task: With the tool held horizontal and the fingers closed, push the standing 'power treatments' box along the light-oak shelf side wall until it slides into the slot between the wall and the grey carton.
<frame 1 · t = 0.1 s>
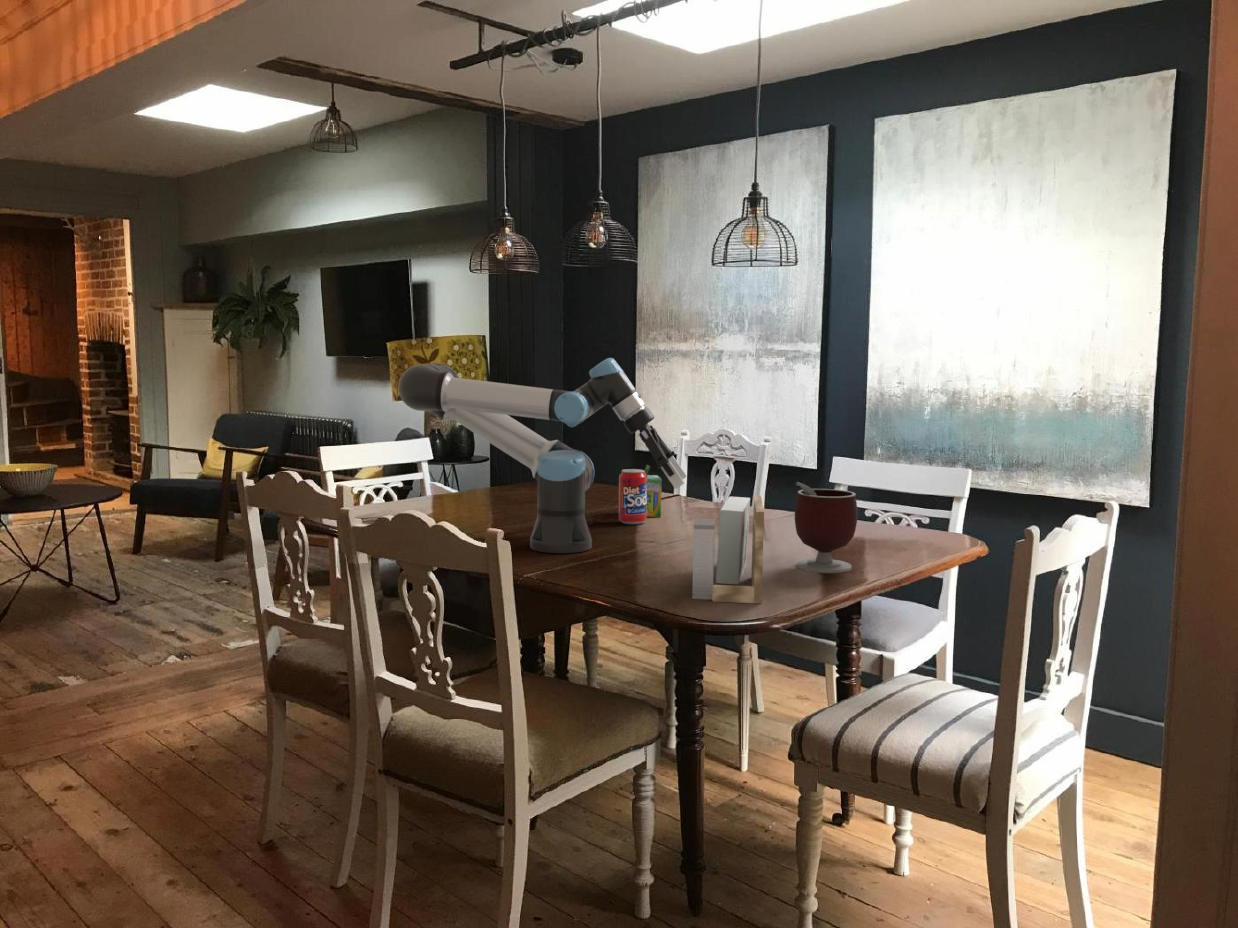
hand: (681, 482, 254), 15 cm above the table, tool tilted 35°, fingers open, 13 cm apart
soda can: (632, 523, 282), on the table
juice box: (643, 515, 295), on the table
grey carton: (703, 594, 201), on the table
mate gourd: (821, 568, 227), on the table
oak shelf corner: (732, 588, 206), on the table
skincare box: (732, 575, 219), on the table
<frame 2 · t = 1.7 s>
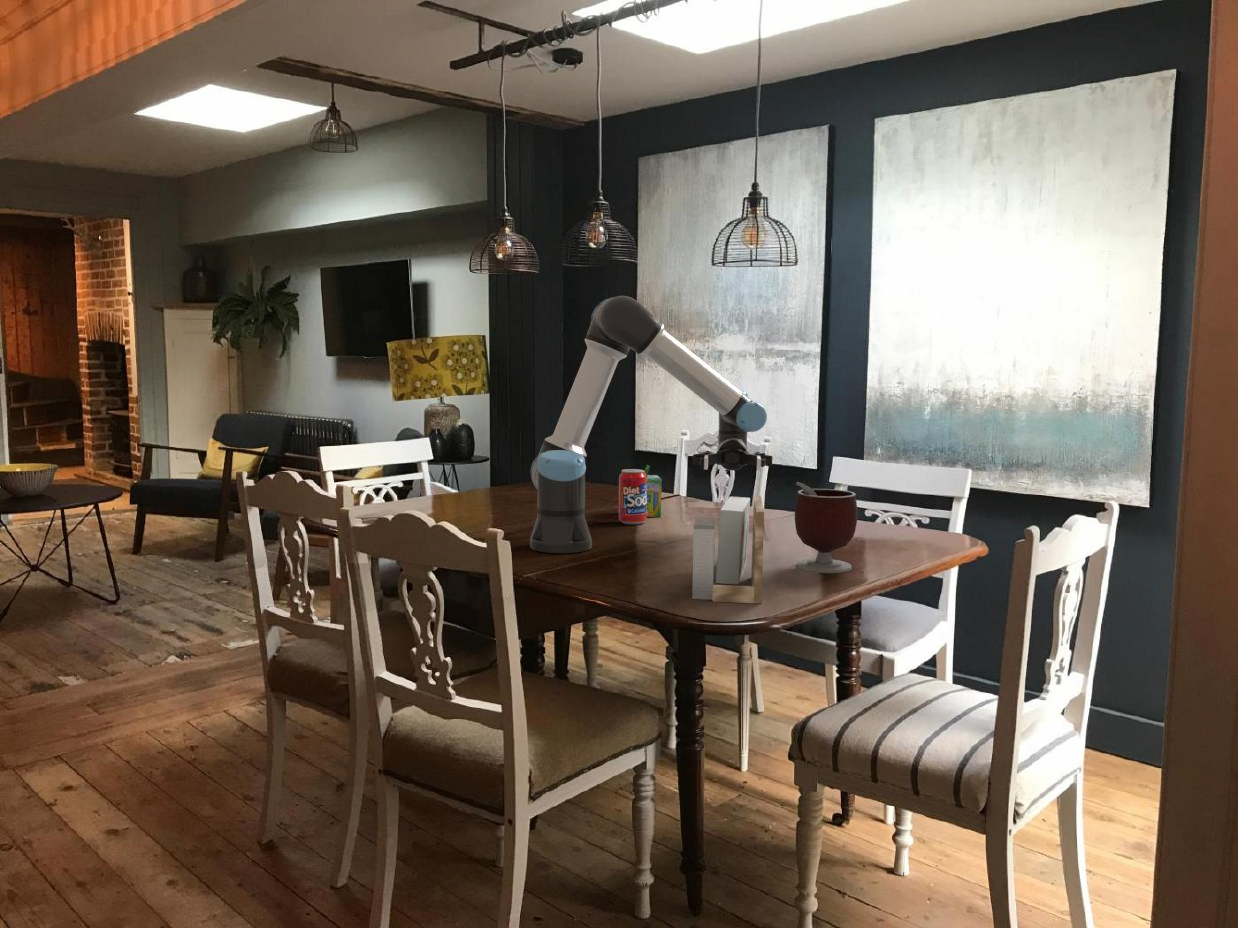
hand: (732, 464, 233), 22 cm above the table, tool horizontal, fingers open, 12 cm apart
nothing on the table moved.
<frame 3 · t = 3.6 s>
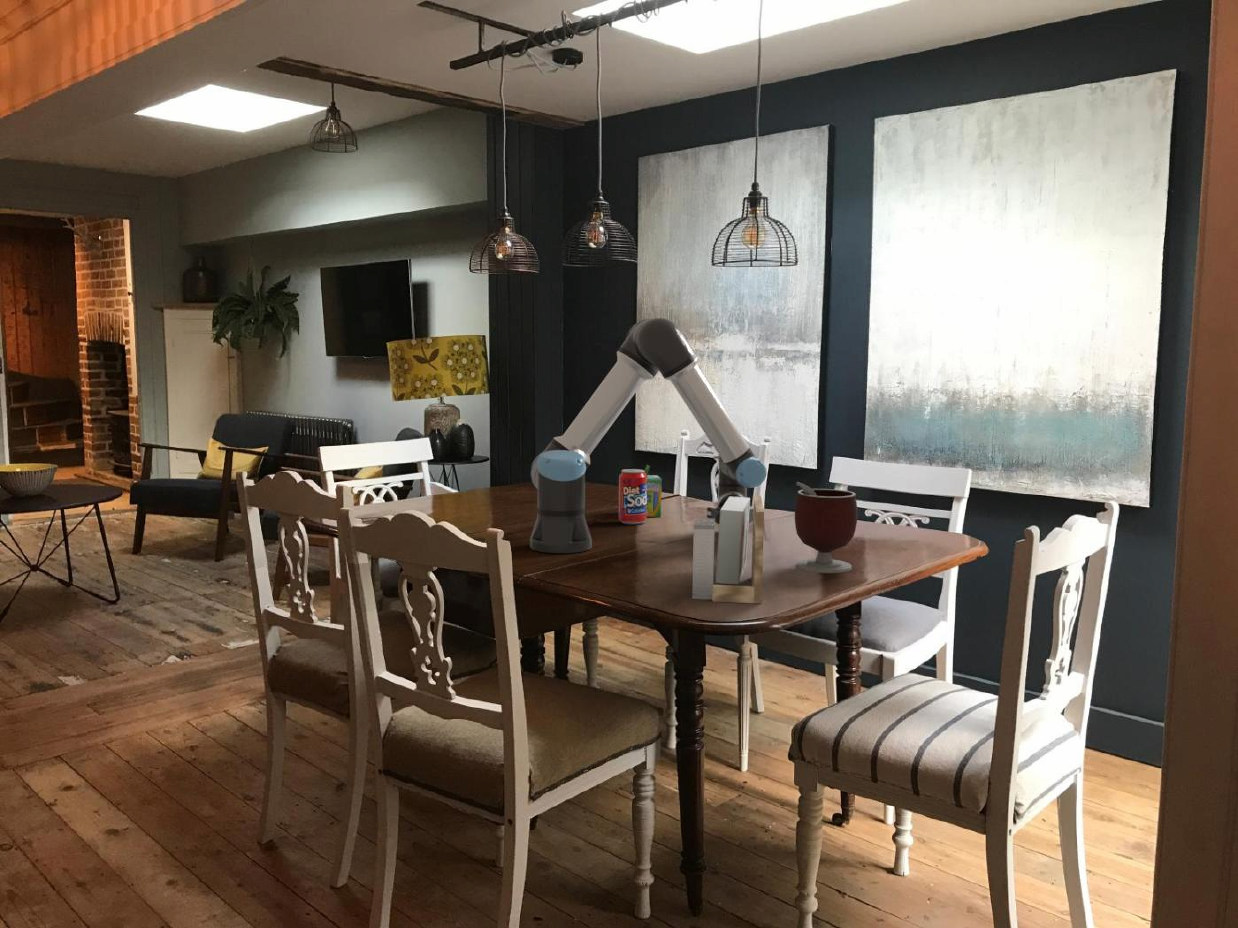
hand: (732, 524, 233), 8 cm above the table, tool horizontal, fingers closed
nothing on the table moved.
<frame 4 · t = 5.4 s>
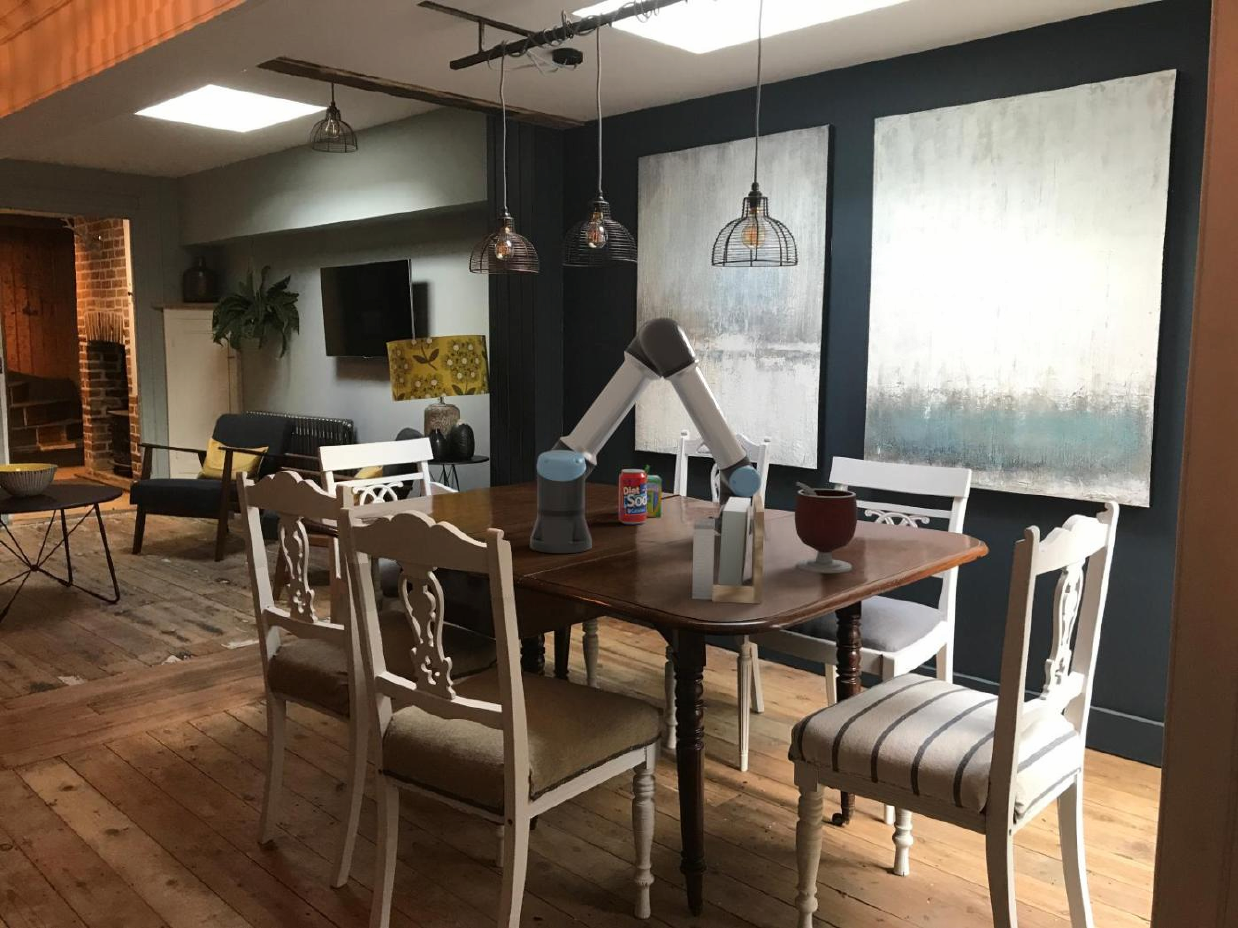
hand: (735, 535, 228), 7 cm above the table, tool horizontal, fingers closed
skincare box: (734, 576, 218), on the table, touching gripper
everything else where it was.
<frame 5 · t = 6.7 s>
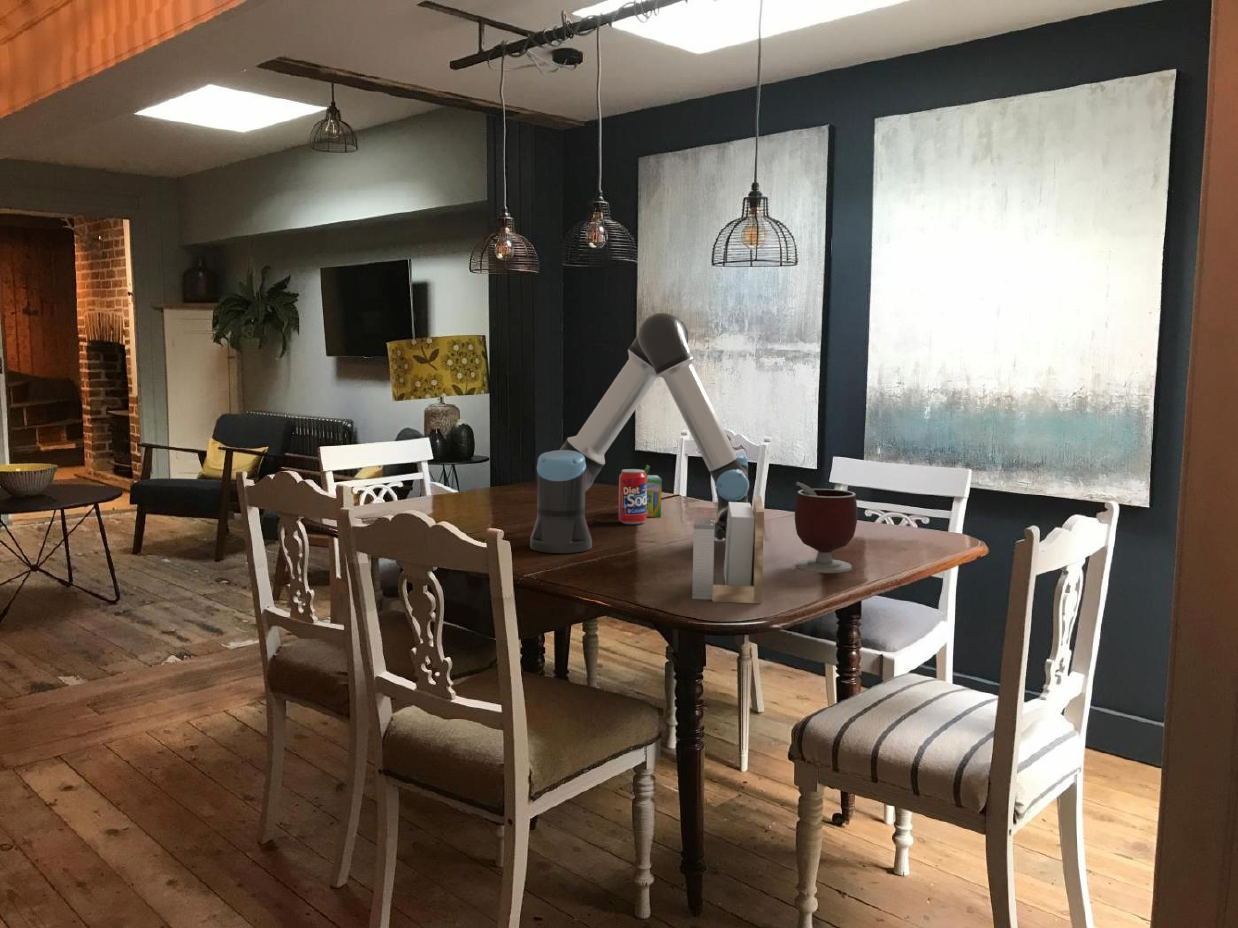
hand: (734, 540, 221), 7 cm above the table, tool horizontal, fingers closed
skincare box: (737, 583, 211), on the table, touching gripper
everything else where it was.
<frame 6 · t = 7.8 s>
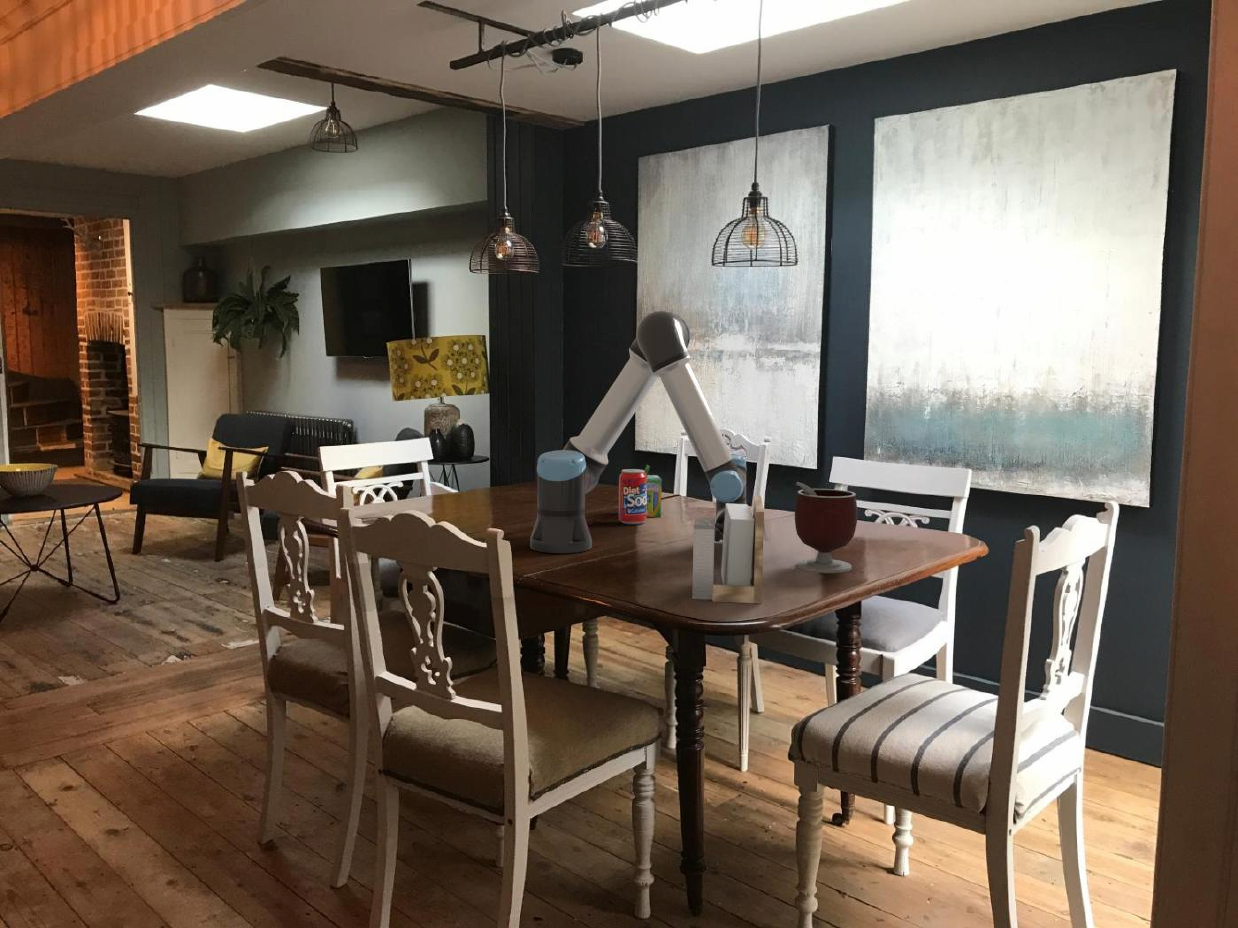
hand: (731, 542, 218), 7 cm above the table, tool horizontal, fingers closed
skincare box: (736, 586, 208), on the table, touching gripper
everything else where it was.
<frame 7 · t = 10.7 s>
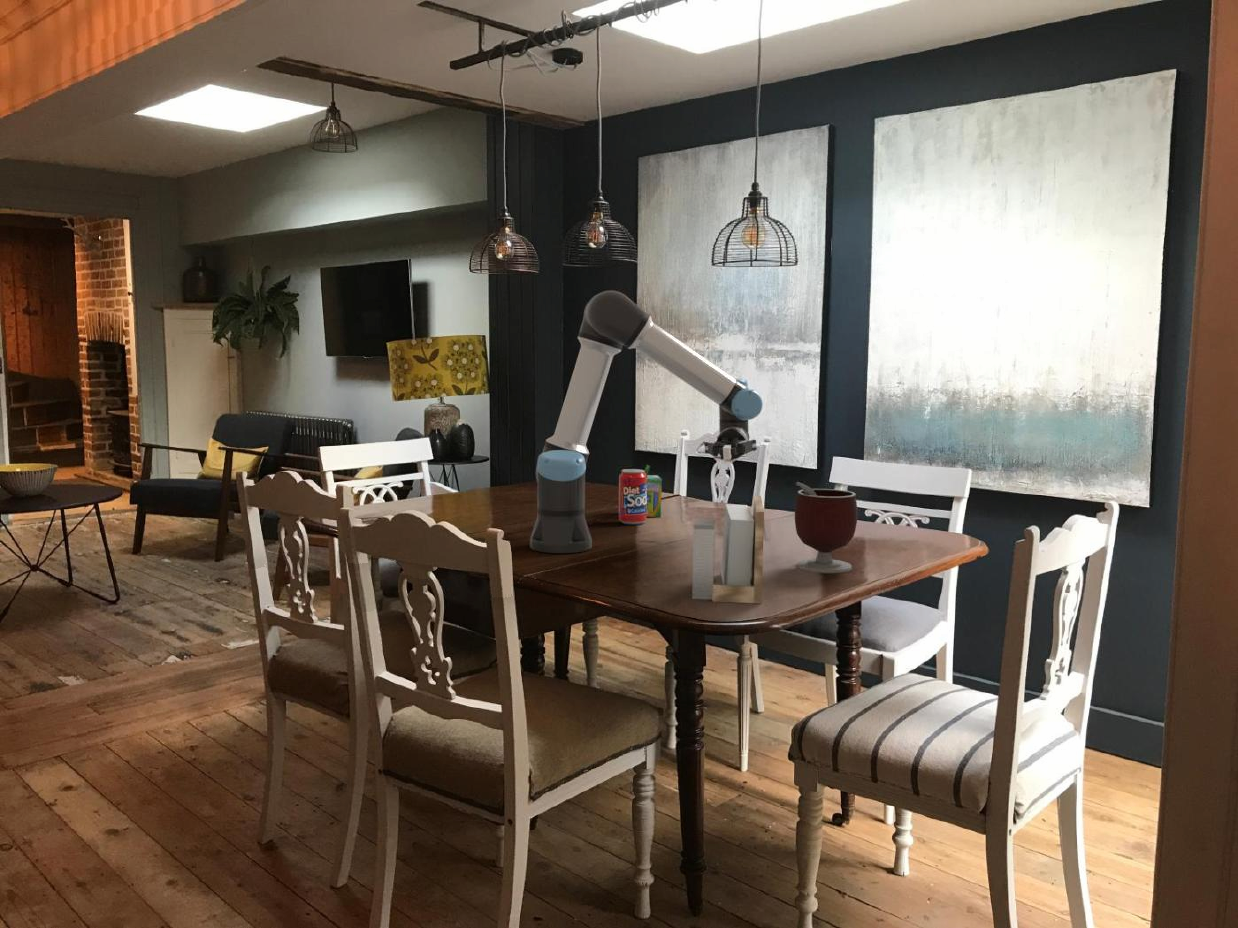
hand: (726, 453, 228), 25 cm above the table, tool horizontal, fingers closed
skincare box: (735, 587, 208), on the table
everything else where it was.
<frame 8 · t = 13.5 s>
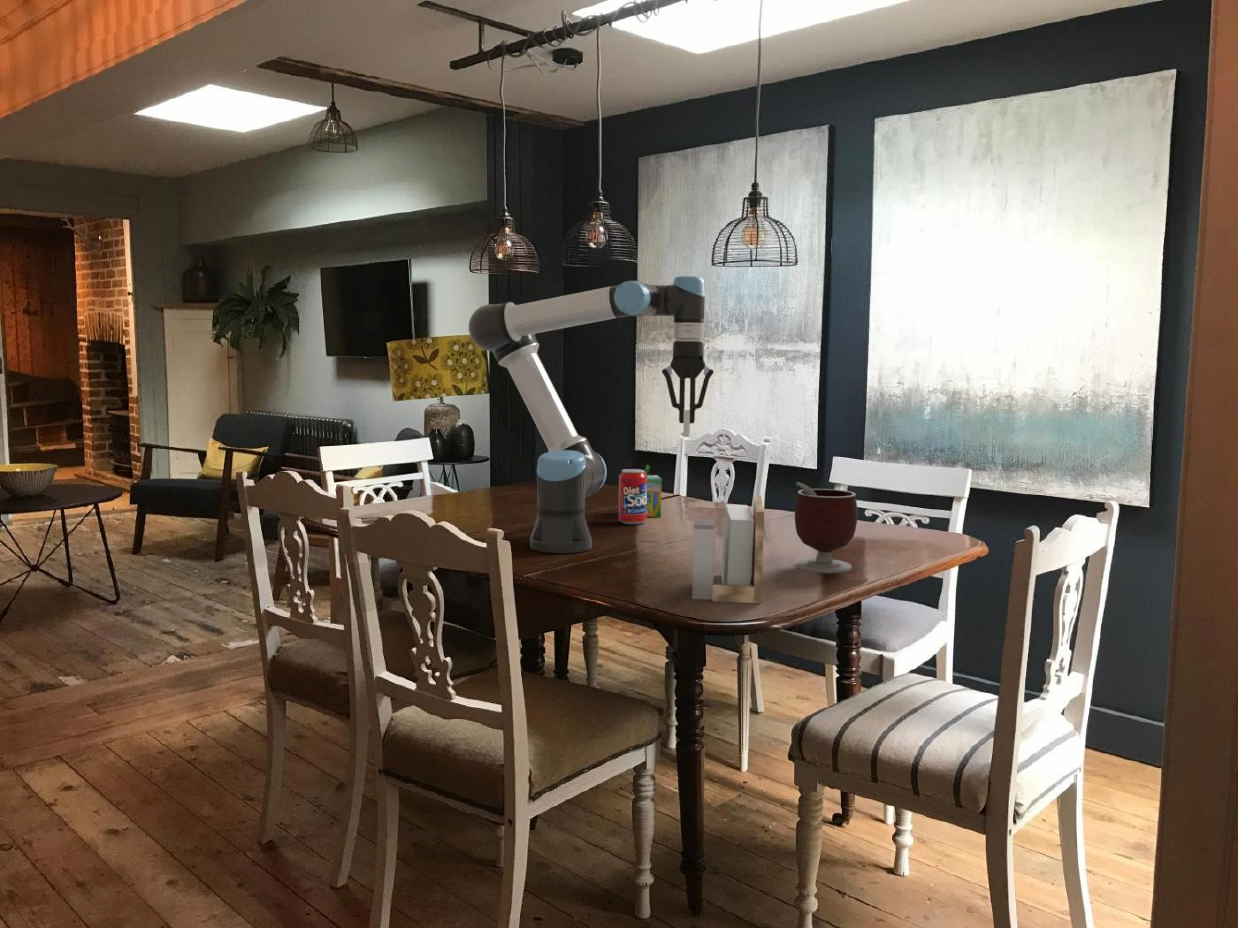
hand: (686, 436, 247), 27 cm above the table, tool pointing down, fingers closed
nothing on the table moved.
at the end: skincare box inside the target area (0.6 cm from its centre), on the table; skincare box tilted 0°; skincare box moved 11.3 cm from its start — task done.
